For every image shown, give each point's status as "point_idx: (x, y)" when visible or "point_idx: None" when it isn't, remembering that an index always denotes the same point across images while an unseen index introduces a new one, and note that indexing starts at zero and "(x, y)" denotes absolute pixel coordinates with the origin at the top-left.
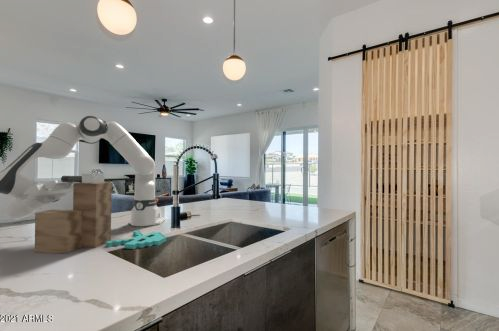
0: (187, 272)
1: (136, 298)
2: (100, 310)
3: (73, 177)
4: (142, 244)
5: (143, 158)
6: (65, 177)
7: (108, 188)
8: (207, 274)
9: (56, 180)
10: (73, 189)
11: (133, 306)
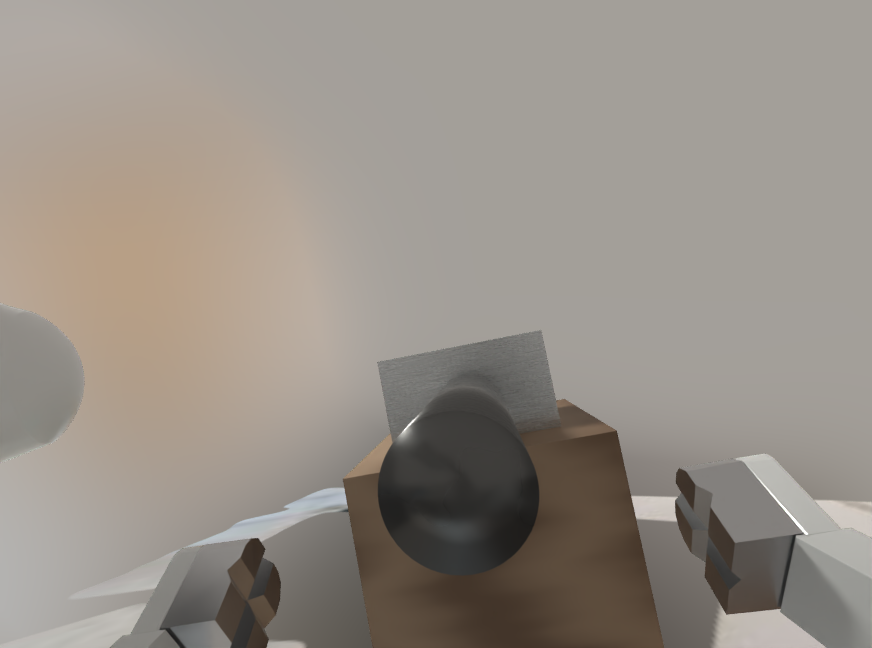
0: (674, 517)
1: (837, 516)
2: None
3: (500, 400)
4: None
5: (44, 320)
6: (510, 422)
7: None
8: (661, 501)
9: (706, 463)
10: (631, 504)
11: (859, 508)
